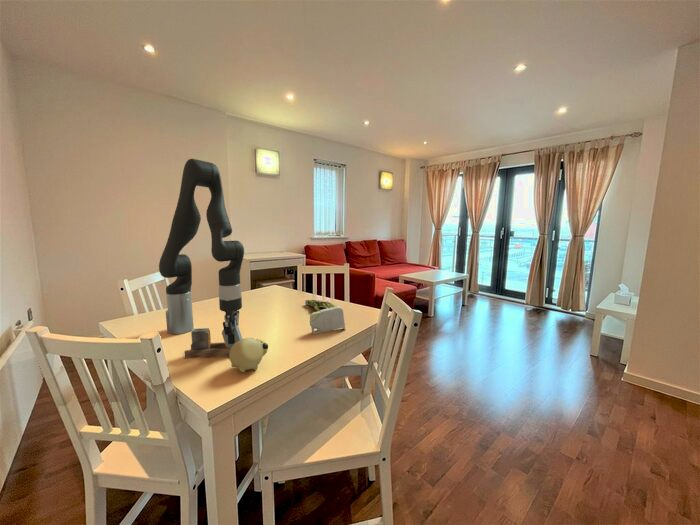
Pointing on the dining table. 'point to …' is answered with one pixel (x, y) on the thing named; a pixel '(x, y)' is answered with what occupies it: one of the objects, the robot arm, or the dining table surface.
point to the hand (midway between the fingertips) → (232, 341)
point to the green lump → (319, 304)
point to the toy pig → (247, 353)
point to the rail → (209, 352)
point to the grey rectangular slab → (327, 320)
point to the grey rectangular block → (236, 335)
